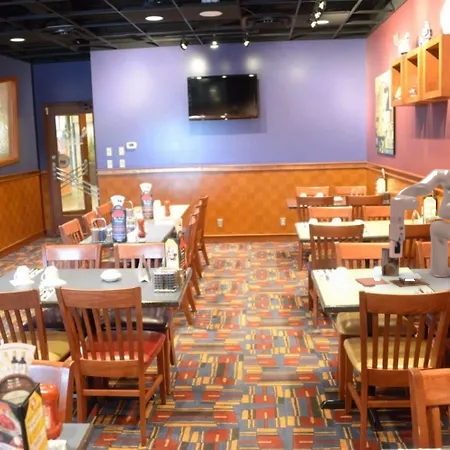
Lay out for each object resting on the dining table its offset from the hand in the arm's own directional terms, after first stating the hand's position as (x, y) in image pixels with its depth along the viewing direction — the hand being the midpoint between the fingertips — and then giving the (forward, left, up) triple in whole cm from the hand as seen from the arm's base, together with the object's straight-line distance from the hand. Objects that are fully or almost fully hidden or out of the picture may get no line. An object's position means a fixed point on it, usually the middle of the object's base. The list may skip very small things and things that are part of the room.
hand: (395, 252), depth 332 cm
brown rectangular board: (-7, +3, -18) cm, 19 cm away
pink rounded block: (0, 0, -2) cm, 2 cm away
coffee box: (-5, -16, -18) cm, 25 cm away
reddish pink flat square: (+11, -5, -18) cm, 21 cm away
